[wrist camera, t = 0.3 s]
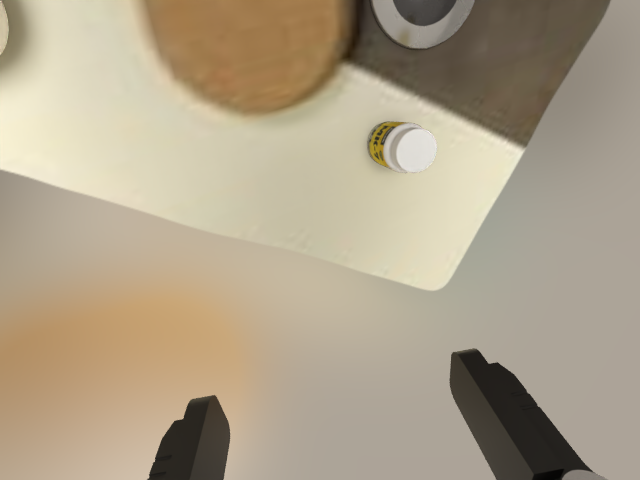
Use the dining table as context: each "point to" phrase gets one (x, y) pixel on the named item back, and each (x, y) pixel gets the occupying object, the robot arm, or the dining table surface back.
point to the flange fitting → (420, 20)
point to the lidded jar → (3, 27)
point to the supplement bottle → (402, 146)
